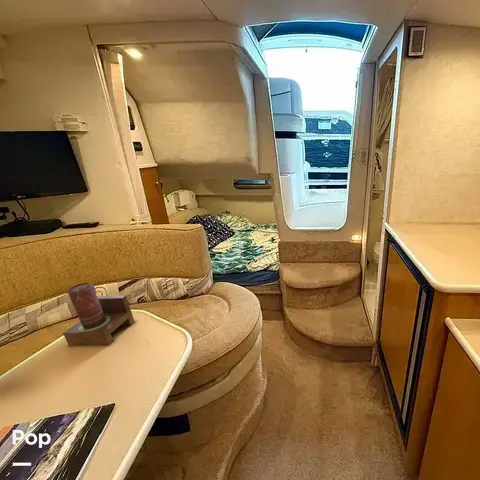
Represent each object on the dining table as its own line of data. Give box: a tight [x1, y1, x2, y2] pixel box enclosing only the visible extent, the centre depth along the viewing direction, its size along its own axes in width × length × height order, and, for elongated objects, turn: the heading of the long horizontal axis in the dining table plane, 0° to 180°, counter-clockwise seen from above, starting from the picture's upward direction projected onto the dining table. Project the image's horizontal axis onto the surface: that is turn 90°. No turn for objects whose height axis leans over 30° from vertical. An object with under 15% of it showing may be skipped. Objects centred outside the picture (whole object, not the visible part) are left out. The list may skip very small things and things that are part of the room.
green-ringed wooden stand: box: [62, 295, 136, 347], centre depth 91 cm, size 14×12×12 cm
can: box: [67, 282, 106, 329], centre depth 87 cm, size 6×6×14 cm
